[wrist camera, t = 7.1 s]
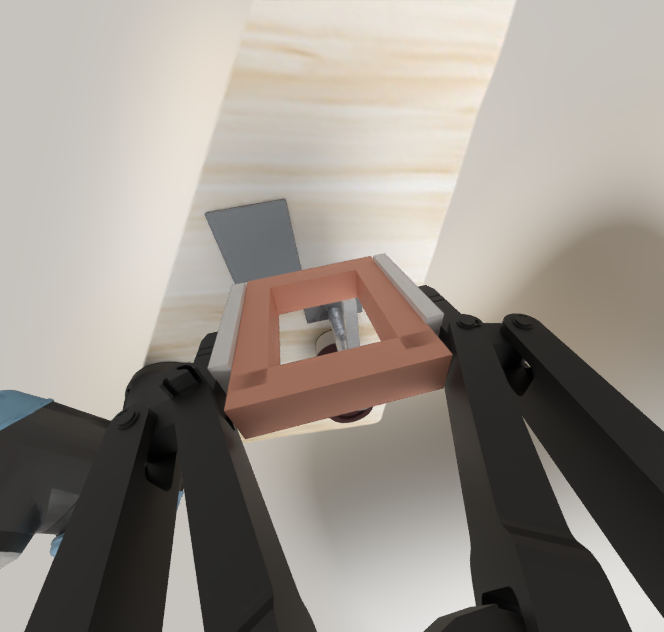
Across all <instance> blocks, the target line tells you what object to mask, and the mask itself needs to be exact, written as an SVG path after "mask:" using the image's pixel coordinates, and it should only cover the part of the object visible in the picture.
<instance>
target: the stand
mask: <svg viewBox="0 0 664 632" xmlns="http://www.w3.org/2000/svg"><path fill="white" fill-rule="evenodd" d="M304 312H305V316H306V320H307V324H308V323H312V322H317V321H322V320H327V319H329V321H330V325H331V328H332V332H333V336H334V339H335V343H336V346H337V350H338V352H339V351H343V350H347V349H351V348H355V347H360V345H359V331H358V318H357V313H360V312H362V304H361V303H360V301H359V299H358V297H357V298H352V299H348V300H343V301H339V302H334V303H329V304H325V305H320V306H316V307H311V308H307V309H304ZM365 409H368V408H365ZM365 409H361V410H365Z"/></svg>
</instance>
